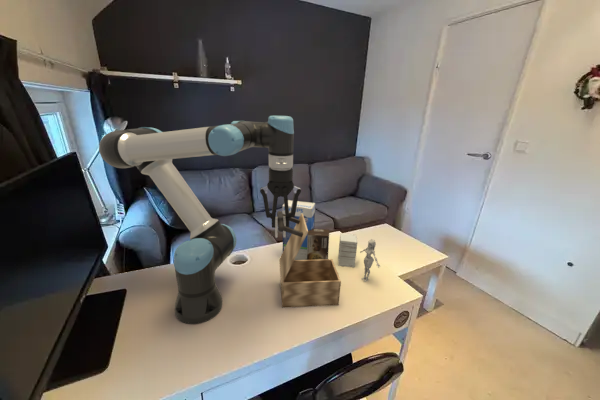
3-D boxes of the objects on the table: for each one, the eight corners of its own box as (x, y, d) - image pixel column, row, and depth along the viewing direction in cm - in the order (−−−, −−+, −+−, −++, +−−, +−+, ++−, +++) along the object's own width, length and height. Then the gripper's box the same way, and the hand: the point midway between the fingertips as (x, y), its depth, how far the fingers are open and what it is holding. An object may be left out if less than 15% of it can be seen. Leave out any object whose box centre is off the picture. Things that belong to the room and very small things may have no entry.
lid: (282, 283, 91) (256, 275, 89) (280, 260, 105) (258, 252, 103) (308, 231, 86) (281, 222, 84) (302, 213, 99) (279, 205, 97)
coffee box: (327, 261, 123) (330, 229, 118) (327, 269, 117) (329, 236, 112) (307, 259, 124) (308, 227, 119) (306, 267, 118) (307, 234, 113)
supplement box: (337, 257, 127) (340, 232, 123) (354, 258, 127) (356, 234, 122) (337, 266, 121) (340, 240, 116) (354, 267, 120) (357, 242, 115)
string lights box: (313, 254, 128) (316, 202, 120) (310, 263, 122) (312, 208, 113) (286, 250, 132) (287, 199, 123) (281, 258, 125) (281, 205, 116)
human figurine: (354, 272, 116) (358, 234, 110) (361, 270, 118) (366, 232, 112) (371, 289, 106) (377, 248, 100) (379, 287, 108) (386, 246, 101)
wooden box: (282, 307, 95) (282, 283, 92) (280, 282, 108) (280, 260, 105) (338, 305, 97) (341, 281, 94) (330, 280, 110) (332, 259, 107)
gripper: (255, 170, 81) (257, 241, 89) (306, 170, 83) (303, 240, 91) (256, 164, 88) (258, 231, 96) (303, 165, 90) (301, 230, 98)
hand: (280, 235), depth 93 cm, fingers closed on lid, 2 cm apart
